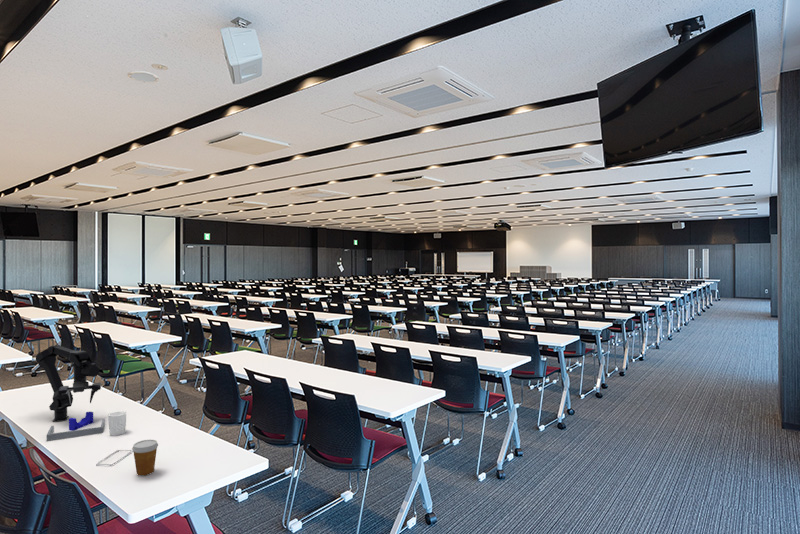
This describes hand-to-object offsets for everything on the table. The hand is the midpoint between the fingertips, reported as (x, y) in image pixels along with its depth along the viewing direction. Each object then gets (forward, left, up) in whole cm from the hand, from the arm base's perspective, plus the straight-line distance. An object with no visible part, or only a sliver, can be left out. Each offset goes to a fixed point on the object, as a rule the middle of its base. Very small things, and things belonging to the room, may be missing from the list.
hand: (80, 404), depth 254 cm
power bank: (+62, +19, -11) cm, 66 cm away
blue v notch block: (+7, +1, -10) cm, 12 cm away
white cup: (+28, +18, -10) cm, 35 cm away
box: (+17, 0, -10) cm, 19 cm away
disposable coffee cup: (+84, +30, -10) cm, 90 cm away
